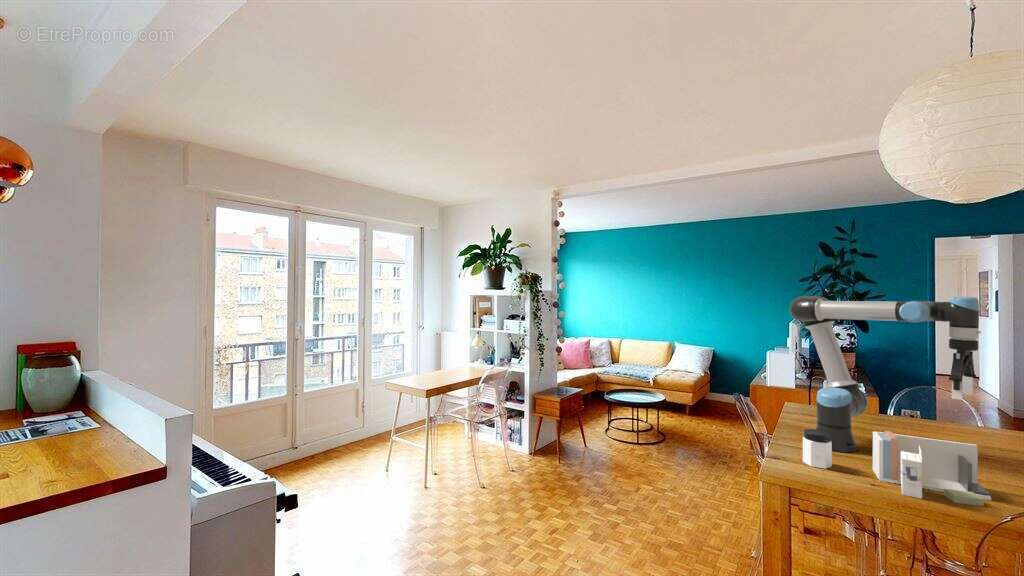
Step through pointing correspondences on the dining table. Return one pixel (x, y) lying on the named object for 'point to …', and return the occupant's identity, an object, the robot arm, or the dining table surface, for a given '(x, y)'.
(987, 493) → the bookend
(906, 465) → the ink box
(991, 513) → the dining table surface
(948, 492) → the fallen book
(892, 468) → the shelf
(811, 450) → the jar
